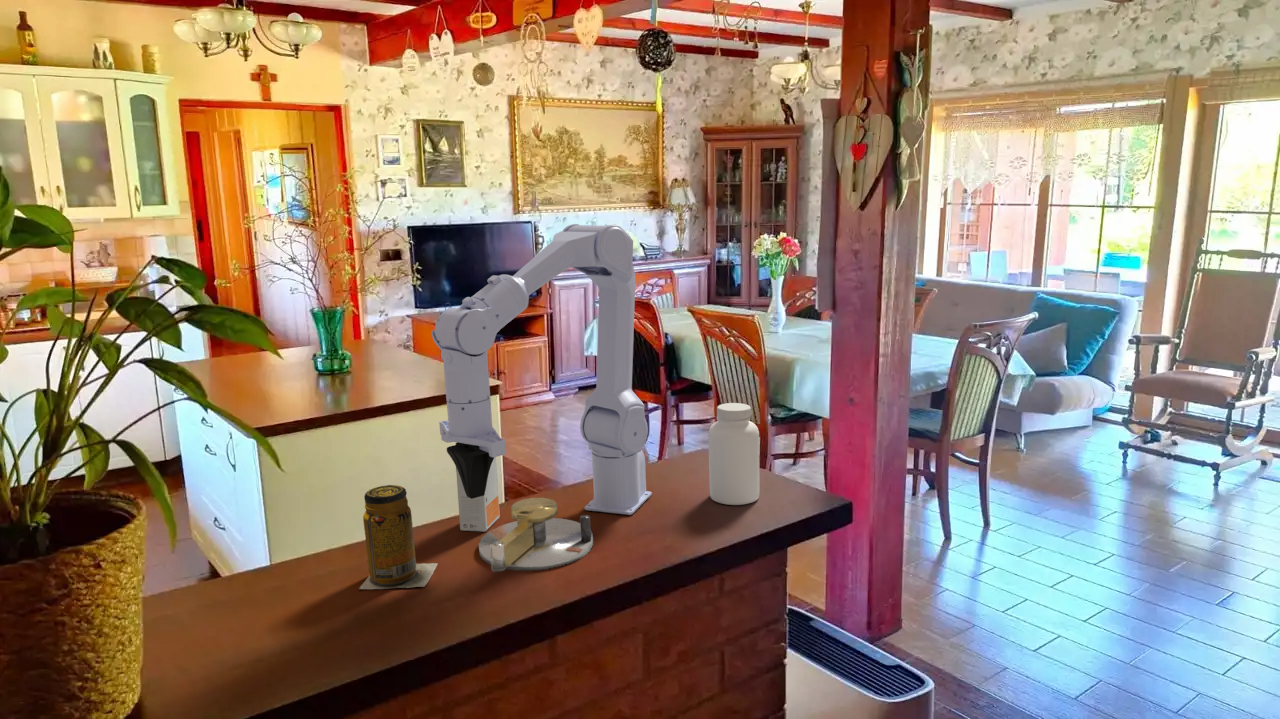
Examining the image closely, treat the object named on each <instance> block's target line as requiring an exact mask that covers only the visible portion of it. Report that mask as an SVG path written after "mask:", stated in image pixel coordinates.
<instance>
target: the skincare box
mask: <svg viewBox="0 0 1280 719" xmlns="http://www.w3.org/2000/svg"><path fill="white" fill-rule="evenodd" d="M455 472H456V486H457V498H458V499H457V502H458V503H457V504H458V513H459V514H458V515H459V528H460V531H464V532H465V531H467V532H468V531H469V532H485V533H486V532H487V531H488V529H490V527H492V525H493V524H494V523H495V522H496V521H498V519H500V516H501V515H500V502H499V500H500V497H499V483H498V482H499V481H498V468H497V457H494V460H493V462H492V464H491V467H490V470H489V474H488V479H487V485H486V490H485V495H484V496H480V497H477V498H473V499H471V498H469V497H467V495H466V493H465V490H464V487H463V484H462V481H461V478H460V475H459V472H458V470H457V468H456V467H455Z"/></svg>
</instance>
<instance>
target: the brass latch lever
mask: <svg viewBox="0 0 1280 719" xmlns="http://www.w3.org/2000/svg"><path fill="white" fill-rule="evenodd" d="M510 510H511V518H512V520H514V521H517V527H516V528H515V529H514V530H512V531H511V532H510V533H508V534H507V535H506V536H505V537H503V538H502V539H501V540H499V541H498V542H493V543H491V544H490V554H491V565H490V566H491V568H490V569H491V571H492V572H494V573H500V572H504V571H505V570H507V569H506V568H507V567H508V566H509V565H510V564H511V563H512V562H514V561H515V560H516V559H517V558H518V557H519V556H521V555H522V554H523V553H524V552H525V551H527V550H528V549H529V548H530V547H531V546H532V545H534V536H533V523H536V522H542V521H546V520H549V519H552V518H556V516H557V515H558V503H557V501H555V500H554V499H551V498H548V497H531V498H525V499H524V498H523V499H520V500H518V501H515V502H514V503H513V504H512V505H511V507H510Z"/></svg>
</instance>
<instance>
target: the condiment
mask: <svg viewBox="0 0 1280 719" xmlns="http://www.w3.org/2000/svg"><path fill="white" fill-rule="evenodd" d="M407 494H408V493H407V490H406V488H405V487H403V486H401V485H398V484H388V485H387V484H386V485H380V486H376V487H372V488H371V489H369V490H367V491H366V492H365V494H364V503H365V504H364V509H365V512H364V513H363V516H362V517H363V518H362V520H363V530H364V535H365V537H364V538H365V547H366V550H365V551H366V555H367V566H368V567H367V568H368V577H367V578H366V579H365V581H364V582H363V583H362V584H361V585H360V587H359V588H358V589H359V590H388V589H396V588H401V589H403V588H405V589H409V588H416V587H419V588H420V587H422V588H424V587H426V585H427V584H428V583H429V581H430V579H431V577H432V576H433V574H434V572H435V570H436V569H437V566H438V564H439V563H437V562H434V563H433V562H430V563H426V562H423V563H417V560H416V551H415V541H414V538H415V537H414V528H413V517H412V510H411V508H410V506H409V504H408V503H409V502H408V498H407ZM417 570H418V571H417ZM420 571H421V573H420Z"/></svg>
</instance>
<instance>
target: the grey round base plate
mask: <svg viewBox="0 0 1280 719" xmlns="http://www.w3.org/2000/svg"><path fill="white" fill-rule="evenodd" d="M516 527H517V521H516V520H514V521H511V522H508V523H506V524H502V525H498V526H497V527H494V528H493V529H491V530H489V531H488V532H485V534H484V535H483V536H482V537H481V538H480V540H479V542H478V550H479V551H478V552H479V557H480V558H481V560H482V561H484V562H485V563H486V564H488V565H490V566H491V554H490V544H491V543H493V542H498V541H499V540H501V539H502V538H503V537H505V536H506V535H507V534H508V533H510V532H511V531H512V530H514V529H515V528H516ZM593 535H594V533H593V532H592V529H591V516H590V515H589V514H584V515H580V517H579V521H575V520H572V519H567V518H559V517H554V518H552V519H549V520H546V521H542V522H536V523H533V536H534V545H532V546H531V547H530V548H529V549H528V550H527V551H525V552H524V553H523V554H522V555H521V556H519V557H518V558H517V559H516V560H515V561H514V562H512V563H511V564H510V565H509V566H508V567H507V568H506V569H505V570H507V569H508V570H509V571H521V572H526V571H527V572H530V571H531V572H532V571H533V570H535V571H541V570H542V571H543V569H544V570H549V568H551V569H554V568H553V567H556V568H558V567H557V566H560V567H563V566H566V565H565V564H567V565H570V564H572V563H574V562H577V561H579V560H580V559H583V557H585V556H586V555H588V554H589V553H590V551H591V550H592V549H593V547H592V546H594V536H593ZM591 548H592V549H591ZM588 552H589V553H588ZM578 559H579V560H578ZM562 565H563V566H562ZM508 570H507V571H508ZM533 572H534V571H533Z"/></svg>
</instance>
